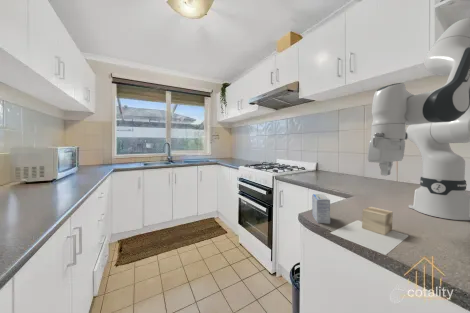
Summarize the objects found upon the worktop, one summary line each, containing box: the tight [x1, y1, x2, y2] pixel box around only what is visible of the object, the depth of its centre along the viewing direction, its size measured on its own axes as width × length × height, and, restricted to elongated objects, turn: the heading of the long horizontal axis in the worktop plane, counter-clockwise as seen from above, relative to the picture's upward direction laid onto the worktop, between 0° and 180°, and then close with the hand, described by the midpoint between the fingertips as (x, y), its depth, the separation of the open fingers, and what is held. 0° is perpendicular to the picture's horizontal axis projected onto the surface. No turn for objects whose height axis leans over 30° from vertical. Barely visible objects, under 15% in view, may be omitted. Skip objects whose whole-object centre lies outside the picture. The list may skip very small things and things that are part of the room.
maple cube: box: [361, 206, 394, 235], centre depth 58 cm, size 6×6×6 cm
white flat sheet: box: [330, 219, 409, 256], centre depth 55 cm, size 18×14×1 cm
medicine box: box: [311, 193, 331, 225], centre depth 67 cm, size 8×4×9 cm, turn 168°
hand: (385, 175), depth 61 cm, fingers closed
